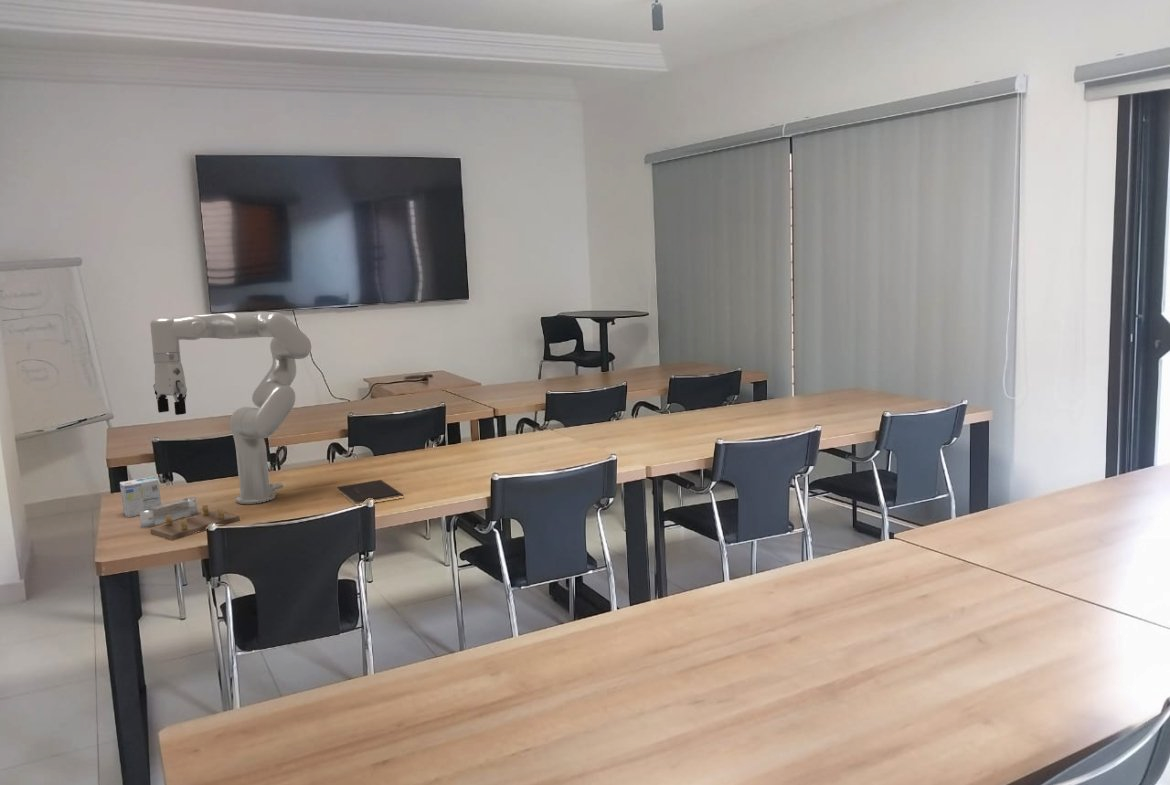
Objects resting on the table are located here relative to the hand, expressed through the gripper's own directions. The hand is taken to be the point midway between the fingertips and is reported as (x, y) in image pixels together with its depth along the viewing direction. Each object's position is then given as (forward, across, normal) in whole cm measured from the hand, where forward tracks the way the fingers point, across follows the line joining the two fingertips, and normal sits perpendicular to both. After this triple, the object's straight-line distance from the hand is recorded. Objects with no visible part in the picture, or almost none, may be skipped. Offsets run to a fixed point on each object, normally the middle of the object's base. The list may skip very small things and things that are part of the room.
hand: (172, 413), depth 274 cm
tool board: (+34, -12, +2) cm, 36 cm away
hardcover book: (+34, -32, -49) cm, 67 cm away
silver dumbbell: (+34, +3, +2) cm, 34 cm away
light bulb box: (+34, +20, +2) cm, 40 cm away
